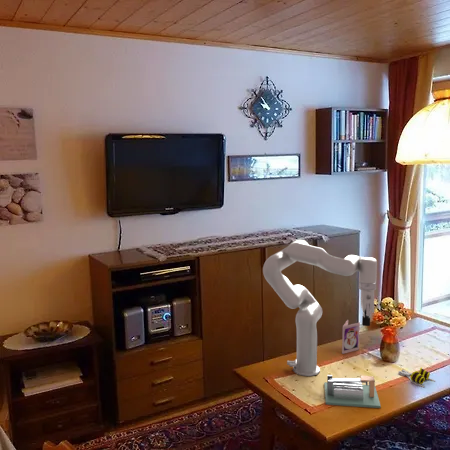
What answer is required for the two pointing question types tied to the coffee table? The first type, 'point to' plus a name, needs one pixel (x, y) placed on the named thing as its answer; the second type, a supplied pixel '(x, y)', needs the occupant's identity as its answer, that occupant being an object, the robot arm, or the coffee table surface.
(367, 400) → the circuit board
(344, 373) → the coffee table surface
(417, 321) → the coffee table surface
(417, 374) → the opera glasses
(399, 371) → the pliers
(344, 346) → the greeting card
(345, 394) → the heatsink
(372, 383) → the bracket
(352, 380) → the strap
